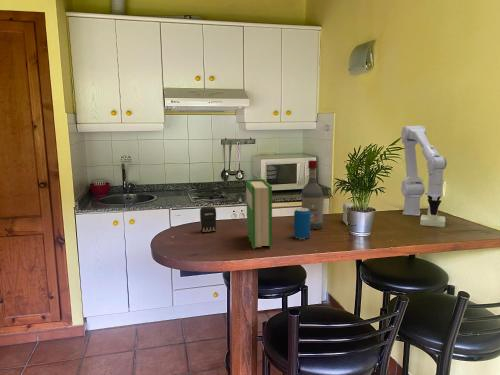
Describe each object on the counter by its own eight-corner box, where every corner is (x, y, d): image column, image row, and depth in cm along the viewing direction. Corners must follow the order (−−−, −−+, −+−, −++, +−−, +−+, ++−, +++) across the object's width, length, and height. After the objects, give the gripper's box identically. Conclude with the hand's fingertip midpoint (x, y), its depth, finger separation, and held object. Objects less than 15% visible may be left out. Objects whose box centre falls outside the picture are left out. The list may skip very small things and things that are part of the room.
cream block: (427, 216, 181) (428, 206, 180) (436, 217, 180) (437, 206, 179) (427, 218, 178) (428, 207, 177) (437, 219, 176) (437, 208, 175)
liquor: (322, 230, 171) (323, 162, 166) (301, 229, 172) (302, 162, 167) (321, 224, 180) (322, 159, 175) (301, 224, 181) (301, 159, 176)
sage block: (421, 219, 186) (421, 214, 185) (444, 221, 181) (445, 216, 181) (420, 224, 177) (420, 219, 176) (444, 227, 172) (445, 221, 172)
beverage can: (310, 235, 163) (311, 207, 161) (308, 240, 157) (309, 211, 155) (295, 234, 165) (295, 207, 163) (292, 239, 159) (293, 210, 156)
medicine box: (356, 225, 178) (356, 206, 176) (346, 225, 178) (346, 207, 176) (351, 221, 186) (352, 203, 184) (342, 221, 186) (343, 203, 184)
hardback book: (272, 248, 148) (271, 186, 144) (252, 249, 147) (251, 187, 143) (264, 235, 165) (263, 179, 161) (247, 236, 164) (246, 179, 160)
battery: (201, 233, 168) (200, 208, 166) (200, 231, 172) (199, 206, 170) (217, 232, 170) (216, 207, 168) (216, 230, 173) (215, 205, 172)
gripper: (425, 180, 184) (423, 208, 186) (425, 185, 171) (423, 215, 173) (442, 181, 181) (440, 210, 183) (443, 186, 168) (441, 217, 170)
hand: (433, 212), depth 178 cm, fingers open, 7 cm apart
